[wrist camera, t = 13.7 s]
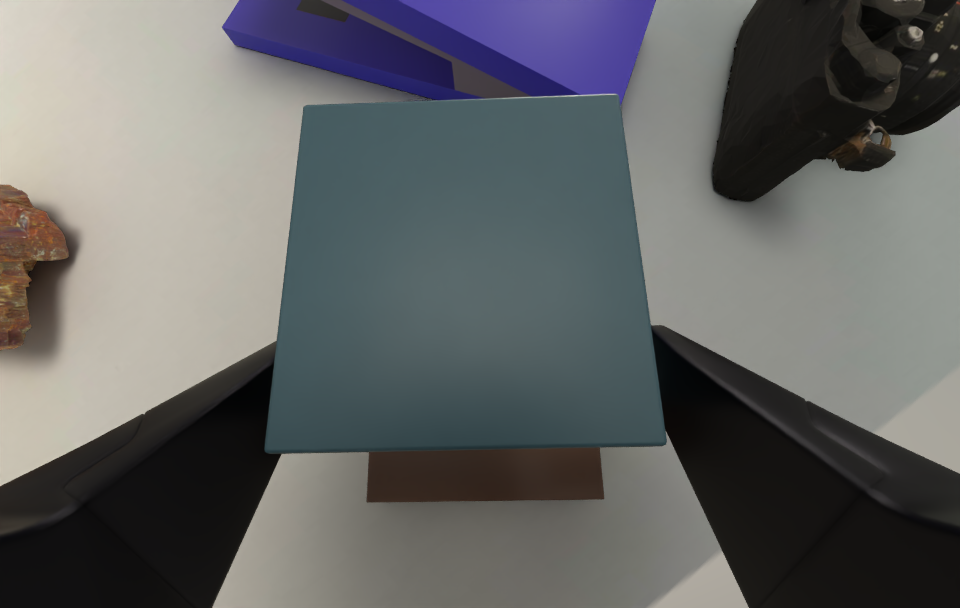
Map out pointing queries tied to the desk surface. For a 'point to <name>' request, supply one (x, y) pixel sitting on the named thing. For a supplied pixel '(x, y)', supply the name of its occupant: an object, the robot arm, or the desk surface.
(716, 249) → the desk surface
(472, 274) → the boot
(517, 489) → the brown lipped tray
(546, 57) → the stapler
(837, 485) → the robot arm
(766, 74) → the film camera
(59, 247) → the mineral specimen
